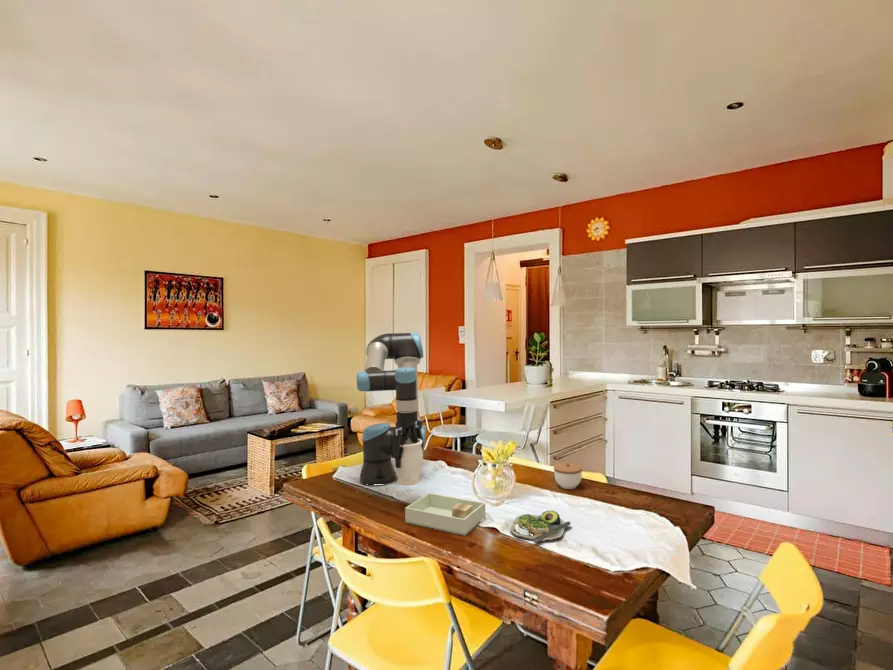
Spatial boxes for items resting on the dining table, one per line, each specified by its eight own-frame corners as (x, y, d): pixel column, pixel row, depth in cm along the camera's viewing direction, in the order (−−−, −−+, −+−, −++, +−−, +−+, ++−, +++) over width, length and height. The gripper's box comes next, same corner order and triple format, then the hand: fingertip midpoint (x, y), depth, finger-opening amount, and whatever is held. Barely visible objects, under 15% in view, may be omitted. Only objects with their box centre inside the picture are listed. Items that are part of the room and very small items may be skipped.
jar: (425, 477, 182) (424, 437, 181) (421, 487, 172) (420, 445, 171) (397, 476, 183) (396, 437, 182) (391, 487, 173) (390, 445, 172)
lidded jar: (585, 484, 195) (585, 461, 194) (577, 493, 186) (576, 468, 185) (559, 480, 201) (559, 457, 200) (550, 488, 192) (549, 464, 191)
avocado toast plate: (563, 551, 141) (562, 535, 141) (503, 542, 148) (502, 527, 148) (572, 524, 159) (572, 510, 159) (518, 517, 166) (518, 503, 166)
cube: (472, 520, 162) (472, 505, 162) (465, 526, 158) (465, 510, 158) (459, 517, 165) (459, 503, 164) (452, 523, 160) (451, 508, 160)
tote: (429, 506, 176) (428, 492, 176) (485, 517, 165) (485, 503, 165) (405, 522, 163) (405, 507, 163) (464, 535, 152) (464, 519, 152)
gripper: (415, 404, 188) (417, 460, 189) (379, 416, 168) (381, 479, 169) (432, 405, 184) (433, 463, 185) (397, 418, 164) (399, 483, 166)
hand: (408, 471), depth 177 cm, fingers closed on jar, 10 cm apart
